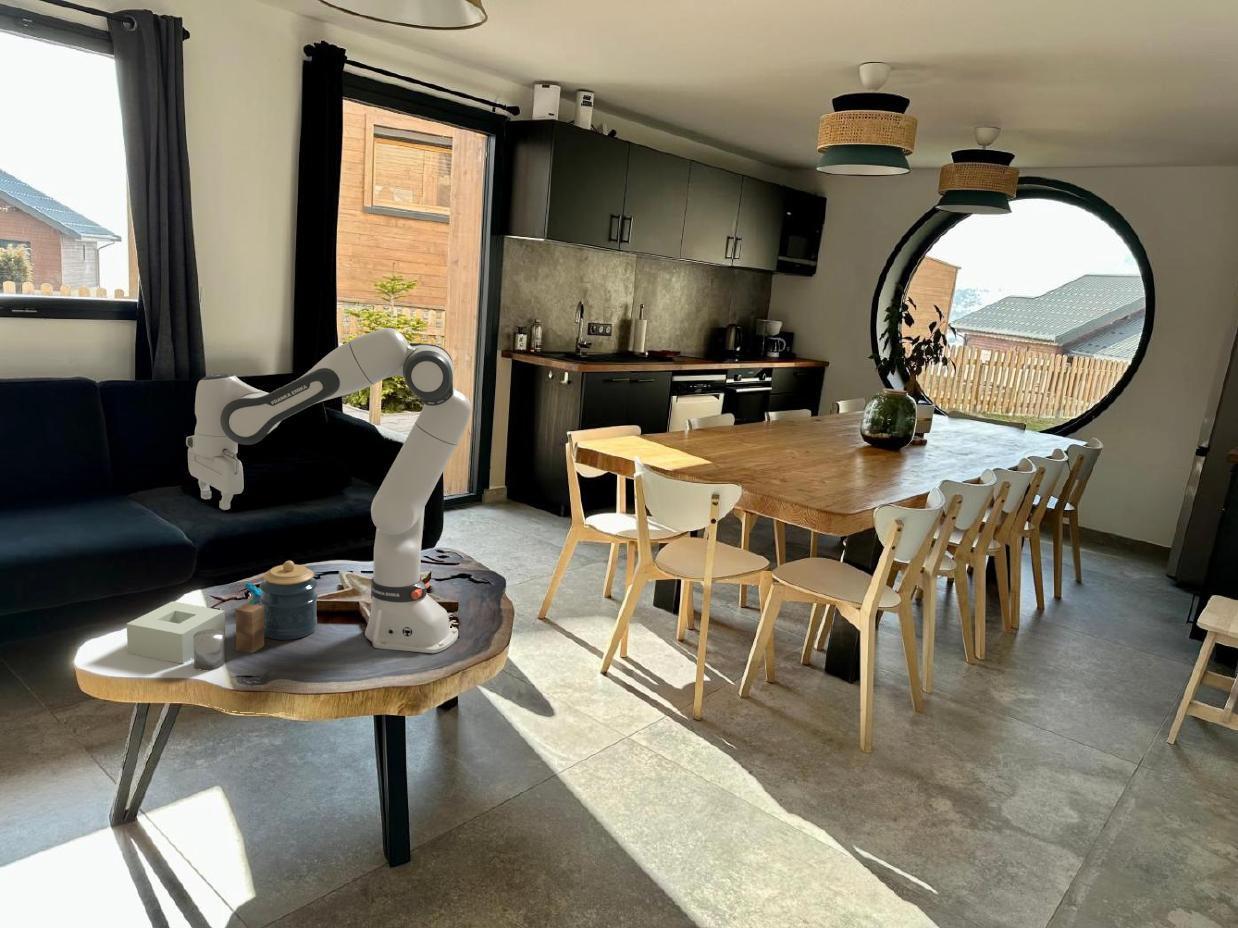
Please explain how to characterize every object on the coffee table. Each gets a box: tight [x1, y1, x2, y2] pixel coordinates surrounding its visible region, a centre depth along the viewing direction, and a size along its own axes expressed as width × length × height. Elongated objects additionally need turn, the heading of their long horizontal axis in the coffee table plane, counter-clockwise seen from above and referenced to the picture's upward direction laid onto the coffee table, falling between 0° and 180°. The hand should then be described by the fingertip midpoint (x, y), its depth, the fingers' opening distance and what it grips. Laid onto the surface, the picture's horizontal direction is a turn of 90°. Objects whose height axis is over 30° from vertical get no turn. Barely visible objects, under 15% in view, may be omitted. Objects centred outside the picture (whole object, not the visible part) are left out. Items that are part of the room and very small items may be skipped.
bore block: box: [126, 600, 226, 665], centre depth 191 cm, size 14×14×7 cm
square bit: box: [235, 602, 265, 654], centre depth 193 cm, size 4×4×10 cm
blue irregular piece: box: [244, 581, 262, 605], centre depth 214 cm, size 11×6×10 cm
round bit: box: [193, 629, 225, 671], centre depth 184 cm, size 6×6×7 cm
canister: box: [259, 560, 318, 641], centre depth 203 cm, size 13×13×18 cm
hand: (215, 503), depth 193 cm, fingers open, 8 cm apart
